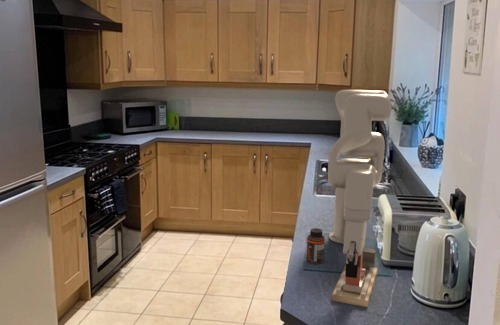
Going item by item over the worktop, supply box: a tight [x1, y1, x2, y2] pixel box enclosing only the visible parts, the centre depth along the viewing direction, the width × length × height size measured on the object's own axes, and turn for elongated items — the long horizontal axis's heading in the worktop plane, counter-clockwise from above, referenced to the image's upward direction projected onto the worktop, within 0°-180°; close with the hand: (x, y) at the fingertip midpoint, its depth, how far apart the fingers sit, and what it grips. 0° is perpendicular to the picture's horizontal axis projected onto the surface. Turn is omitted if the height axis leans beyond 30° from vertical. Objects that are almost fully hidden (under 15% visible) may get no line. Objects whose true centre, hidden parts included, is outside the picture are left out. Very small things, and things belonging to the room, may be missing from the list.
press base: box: [331, 247, 378, 308], centre depth 148 cm, size 24×10×8 cm, turn 160°
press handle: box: [343, 250, 365, 293], centre depth 143 cm, size 8×5×12 cm, turn 160°
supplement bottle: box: [305, 227, 326, 265], centre depth 166 cm, size 6×6×11 cm
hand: (353, 270), depth 141 cm, fingers open, 9 cm apart
